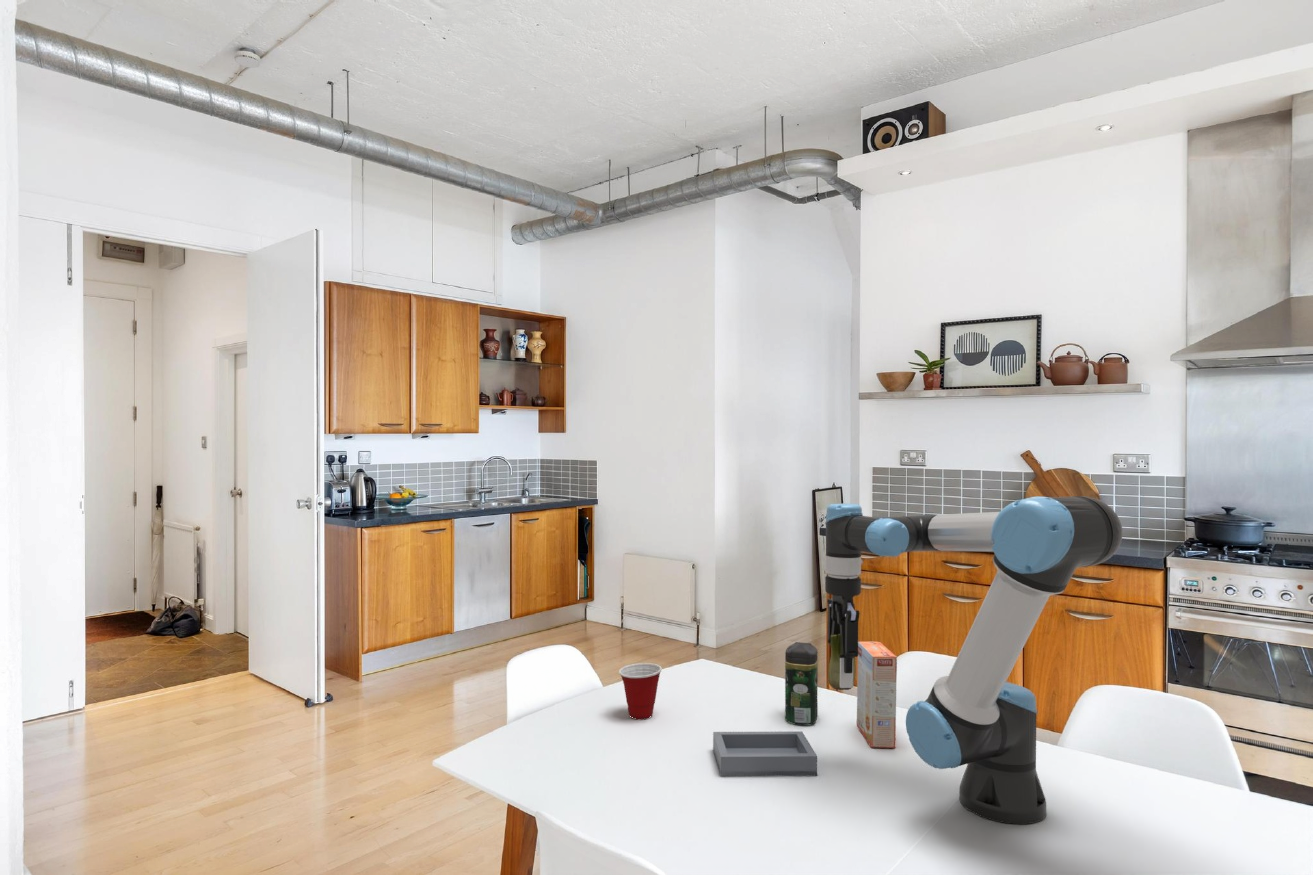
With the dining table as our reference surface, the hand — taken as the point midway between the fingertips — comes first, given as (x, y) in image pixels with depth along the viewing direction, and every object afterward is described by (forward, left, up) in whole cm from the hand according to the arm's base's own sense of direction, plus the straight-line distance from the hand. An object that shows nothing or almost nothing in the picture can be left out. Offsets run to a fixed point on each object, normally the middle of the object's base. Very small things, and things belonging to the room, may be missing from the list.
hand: (841, 683), depth 170 cm
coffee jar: (+26, +3, -17) cm, 31 cm away
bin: (0, +17, -17) cm, 24 cm away
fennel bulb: (0, 0, -2) cm, 2 cm away
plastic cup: (+29, +43, -17) cm, 54 cm away
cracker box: (+14, -12, -17) cm, 25 cm away
